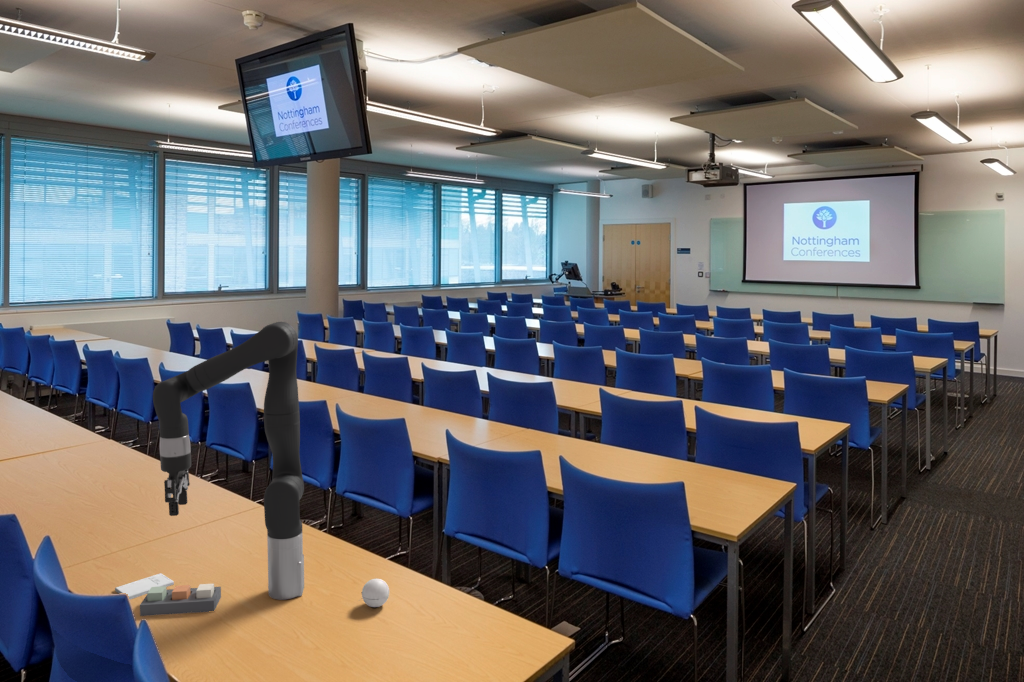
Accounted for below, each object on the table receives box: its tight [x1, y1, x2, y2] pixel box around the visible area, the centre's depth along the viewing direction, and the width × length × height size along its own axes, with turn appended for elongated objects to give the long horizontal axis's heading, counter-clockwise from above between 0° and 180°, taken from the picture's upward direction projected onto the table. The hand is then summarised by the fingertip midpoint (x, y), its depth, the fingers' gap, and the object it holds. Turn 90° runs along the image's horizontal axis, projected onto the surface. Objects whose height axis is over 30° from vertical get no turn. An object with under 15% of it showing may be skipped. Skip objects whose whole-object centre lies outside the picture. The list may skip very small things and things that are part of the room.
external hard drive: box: [114, 572, 175, 600], centre depth 197 cm, size 2×8×12 cm
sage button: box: [146, 586, 167, 601], centre depth 185 cm, size 4×4×3 cm
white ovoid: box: [359, 578, 390, 608], centre depth 188 cm, size 10×7×7 cm
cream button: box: [196, 583, 215, 598], centre depth 188 cm, size 4×4×3 cm
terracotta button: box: [172, 584, 191, 600], centre depth 187 cm, size 4×4×3 cm
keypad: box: [139, 586, 222, 617], centre depth 187 cm, size 18×8×3 cm, turn 100°
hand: (178, 509), depth 192 cm, fingers open, 8 cm apart
